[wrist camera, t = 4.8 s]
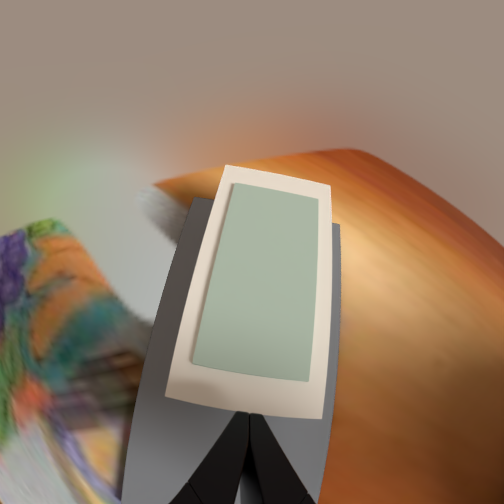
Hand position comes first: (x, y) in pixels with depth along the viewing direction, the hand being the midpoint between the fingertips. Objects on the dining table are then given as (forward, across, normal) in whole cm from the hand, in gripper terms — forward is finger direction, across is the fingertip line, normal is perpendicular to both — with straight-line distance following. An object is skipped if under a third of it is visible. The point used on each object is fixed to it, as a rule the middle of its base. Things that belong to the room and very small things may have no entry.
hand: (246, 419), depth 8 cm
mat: (+7, 0, +3) cm, 8 cm away
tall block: (+3, 0, +3) cm, 4 cm away
